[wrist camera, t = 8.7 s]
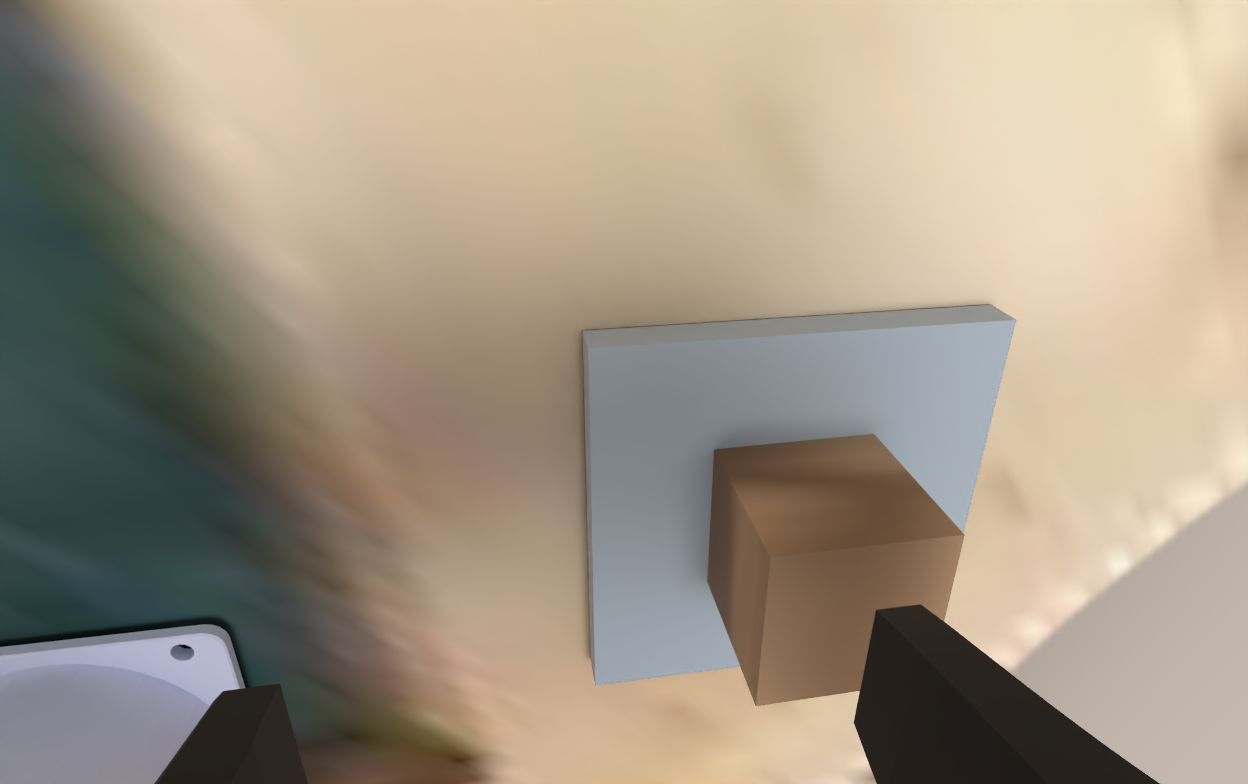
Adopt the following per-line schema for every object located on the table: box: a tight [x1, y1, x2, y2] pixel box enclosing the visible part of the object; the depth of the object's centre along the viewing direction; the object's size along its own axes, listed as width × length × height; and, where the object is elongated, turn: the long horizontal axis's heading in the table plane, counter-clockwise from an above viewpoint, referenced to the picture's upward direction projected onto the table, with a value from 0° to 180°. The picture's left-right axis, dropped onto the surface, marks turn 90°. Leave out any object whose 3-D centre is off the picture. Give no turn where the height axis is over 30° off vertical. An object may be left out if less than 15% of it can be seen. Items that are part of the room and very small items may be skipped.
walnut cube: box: [707, 434, 964, 706], centre depth 18 cm, size 4×4×4 cm
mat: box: [583, 305, 1016, 686], centre depth 20 cm, size 10×10×1 cm
